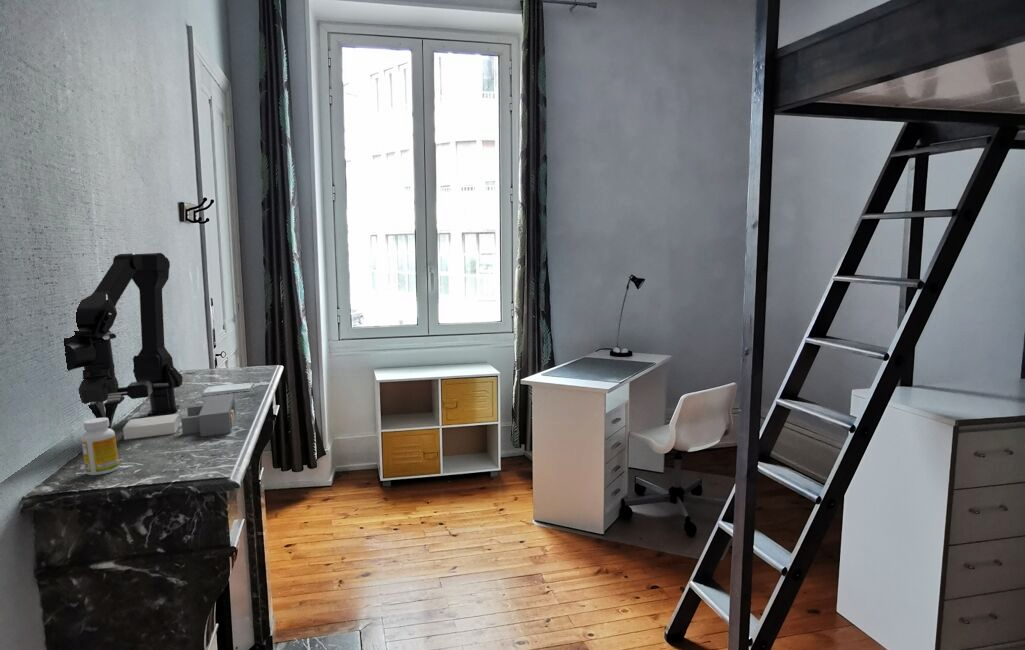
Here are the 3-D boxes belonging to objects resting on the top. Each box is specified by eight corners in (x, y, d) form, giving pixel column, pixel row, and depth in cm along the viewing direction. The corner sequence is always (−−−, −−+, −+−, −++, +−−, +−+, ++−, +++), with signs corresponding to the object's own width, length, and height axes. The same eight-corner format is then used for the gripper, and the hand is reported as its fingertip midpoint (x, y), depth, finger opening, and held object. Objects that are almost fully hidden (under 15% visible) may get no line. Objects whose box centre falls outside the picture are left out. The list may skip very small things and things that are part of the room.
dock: (191, 417, 165) (189, 398, 164) (235, 411, 168) (233, 393, 168) (180, 439, 146) (178, 418, 146) (230, 432, 149) (228, 412, 149)
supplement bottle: (125, 465, 130) (119, 415, 129) (108, 475, 125) (101, 423, 124) (98, 466, 130) (91, 416, 129) (79, 476, 125) (72, 424, 124)
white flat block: (131, 430, 156) (130, 419, 155) (179, 424, 159) (178, 413, 158) (124, 439, 148) (122, 428, 148) (175, 433, 151) (173, 422, 151)
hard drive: (254, 382, 199) (208, 385, 196) (250, 387, 191) (202, 391, 188) (254, 387, 199) (208, 391, 196) (251, 393, 191) (203, 397, 188)
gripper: (35, 373, 138) (46, 448, 140) (139, 363, 144) (148, 435, 146) (52, 364, 148) (62, 434, 150) (148, 355, 154) (156, 422, 156)
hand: (107, 432), depth 150 cm, fingers closed
